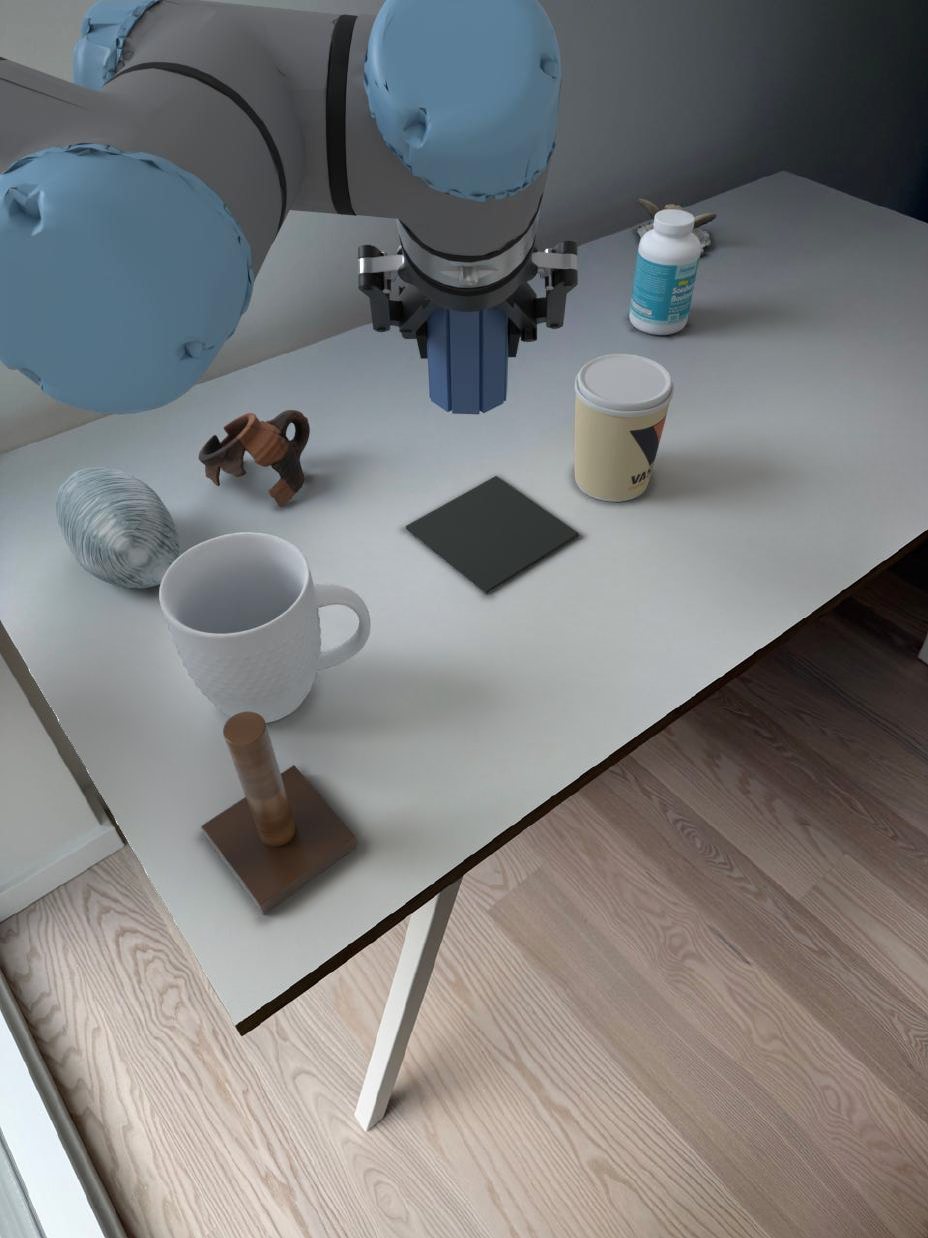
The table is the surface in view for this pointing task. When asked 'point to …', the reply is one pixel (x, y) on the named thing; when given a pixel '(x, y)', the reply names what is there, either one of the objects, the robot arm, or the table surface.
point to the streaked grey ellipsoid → (117, 527)
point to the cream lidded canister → (619, 424)
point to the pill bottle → (665, 274)
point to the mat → (491, 533)
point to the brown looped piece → (260, 450)
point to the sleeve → (468, 360)
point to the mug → (253, 622)
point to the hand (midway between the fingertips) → (468, 340)
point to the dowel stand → (273, 821)
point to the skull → (699, 220)
